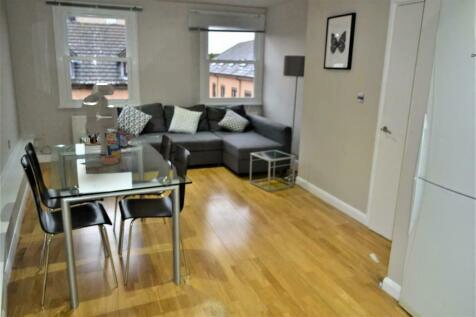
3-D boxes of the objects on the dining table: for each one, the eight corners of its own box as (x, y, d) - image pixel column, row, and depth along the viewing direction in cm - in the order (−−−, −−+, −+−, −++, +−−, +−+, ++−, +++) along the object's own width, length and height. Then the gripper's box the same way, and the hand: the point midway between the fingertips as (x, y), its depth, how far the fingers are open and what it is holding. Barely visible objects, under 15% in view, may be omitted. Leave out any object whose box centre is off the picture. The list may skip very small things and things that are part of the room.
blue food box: (106, 158, 317) (104, 132, 312) (119, 156, 323) (117, 131, 318) (108, 159, 312) (106, 133, 307) (121, 158, 317) (119, 132, 312)
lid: (95, 142, 305) (94, 134, 304) (107, 143, 299) (106, 136, 297) (80, 144, 293) (79, 137, 292) (92, 146, 287) (91, 138, 285)
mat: (92, 160, 308) (92, 160, 308) (103, 162, 302) (103, 162, 302) (79, 164, 297) (79, 163, 297) (90, 166, 291) (90, 165, 291)
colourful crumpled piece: (104, 144, 355) (112, 128, 352) (108, 139, 376) (116, 124, 373) (123, 154, 360) (132, 138, 358) (126, 148, 381) (134, 133, 378)
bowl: (110, 160, 309) (109, 154, 307) (120, 162, 303) (120, 156, 302) (98, 163, 298) (98, 157, 297) (109, 165, 293) (109, 159, 292)
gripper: (96, 118, 300) (98, 140, 304) (79, 120, 286) (81, 144, 291) (103, 118, 297) (105, 141, 301) (86, 121, 283) (88, 144, 287)
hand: (93, 142), depth 296 cm, fingers closed on lid, 3 cm apart
